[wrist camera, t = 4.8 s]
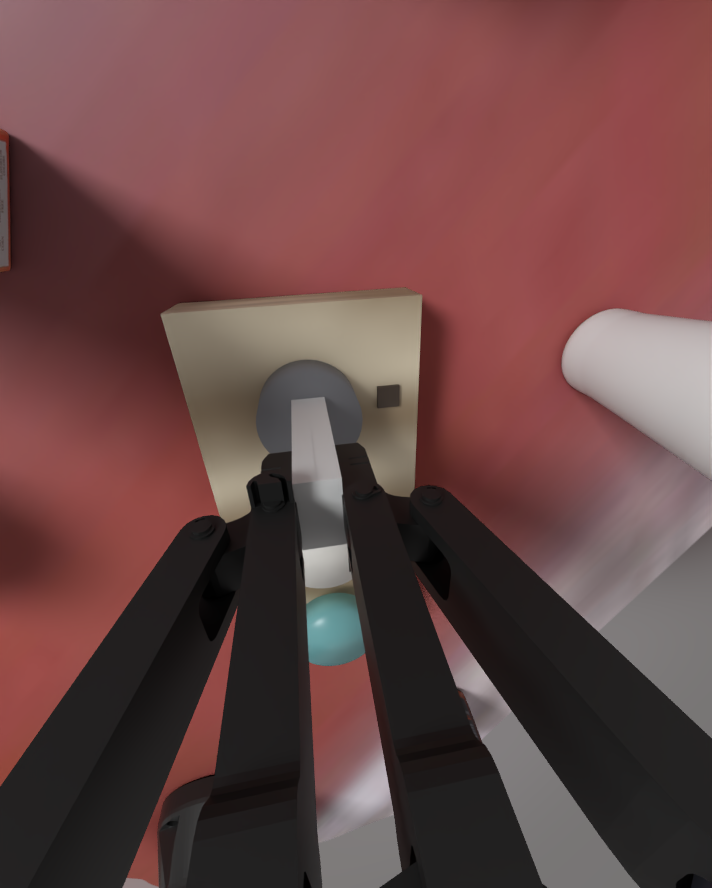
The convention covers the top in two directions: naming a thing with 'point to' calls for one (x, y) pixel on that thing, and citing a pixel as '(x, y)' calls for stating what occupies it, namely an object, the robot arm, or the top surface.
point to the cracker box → (4, 204)
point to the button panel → (287, 340)
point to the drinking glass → (649, 377)
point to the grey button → (302, 384)
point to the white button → (326, 566)
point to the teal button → (334, 630)
